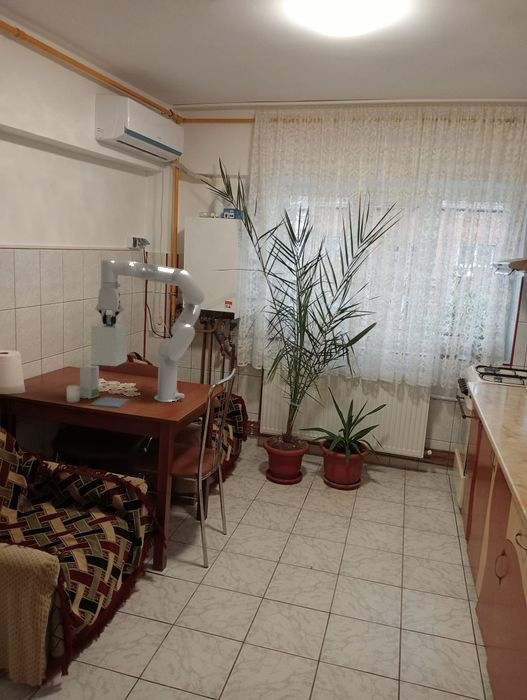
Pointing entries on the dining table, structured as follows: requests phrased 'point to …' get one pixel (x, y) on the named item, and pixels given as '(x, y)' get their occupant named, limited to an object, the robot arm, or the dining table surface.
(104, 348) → the beige box
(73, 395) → the white round cylinder
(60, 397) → the dining table surface
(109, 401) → the mat
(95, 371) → the skincare box
